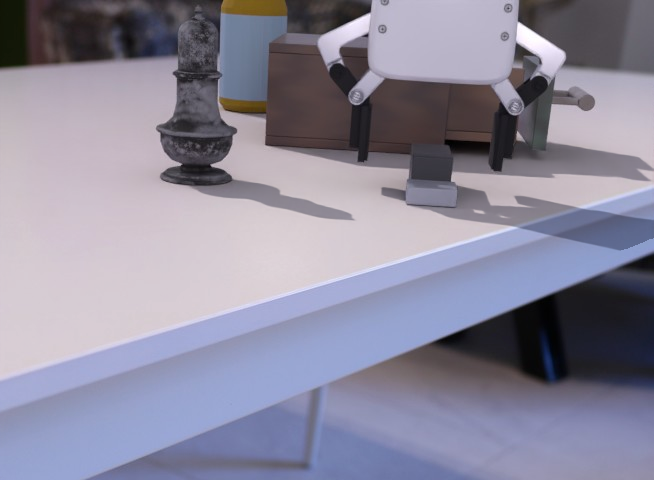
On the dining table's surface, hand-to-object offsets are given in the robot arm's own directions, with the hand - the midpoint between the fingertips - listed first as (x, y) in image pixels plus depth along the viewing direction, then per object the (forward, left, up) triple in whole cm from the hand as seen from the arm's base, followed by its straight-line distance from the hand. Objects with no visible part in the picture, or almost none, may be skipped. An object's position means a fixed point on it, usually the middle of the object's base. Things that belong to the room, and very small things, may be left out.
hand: (428, 163), depth 77 cm
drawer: (-5, -23, -1) cm, 23 cm away
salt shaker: (+17, +1, -2) cm, 17 cm away
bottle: (+18, -39, -2) cm, 43 cm away
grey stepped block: (0, +1, -2) cm, 2 cm away
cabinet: (+6, -23, -2) cm, 23 cm away
